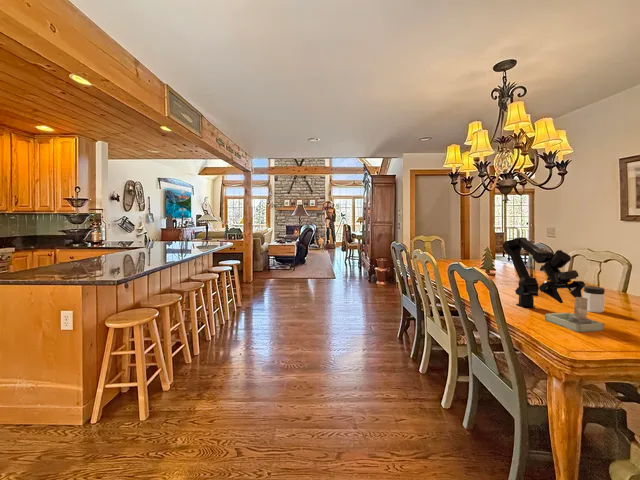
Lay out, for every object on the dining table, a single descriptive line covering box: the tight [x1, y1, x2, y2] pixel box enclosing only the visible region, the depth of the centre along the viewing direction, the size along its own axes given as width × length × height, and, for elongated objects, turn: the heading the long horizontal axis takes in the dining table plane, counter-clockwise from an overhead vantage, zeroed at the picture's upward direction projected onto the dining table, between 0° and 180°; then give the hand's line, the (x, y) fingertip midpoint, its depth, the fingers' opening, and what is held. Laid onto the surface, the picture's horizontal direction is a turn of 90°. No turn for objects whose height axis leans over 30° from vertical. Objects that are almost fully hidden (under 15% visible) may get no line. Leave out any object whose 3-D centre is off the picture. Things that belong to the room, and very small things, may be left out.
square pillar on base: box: [569, 296, 593, 325], centre depth 138 cm, size 6×5×12 cm
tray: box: [544, 312, 605, 333], centre depth 142 cm, size 16×13×3 cm
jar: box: [582, 285, 606, 314], centre depth 164 cm, size 9×8×12 cm
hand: (571, 302), depth 143 cm, fingers open, 9 cm apart
